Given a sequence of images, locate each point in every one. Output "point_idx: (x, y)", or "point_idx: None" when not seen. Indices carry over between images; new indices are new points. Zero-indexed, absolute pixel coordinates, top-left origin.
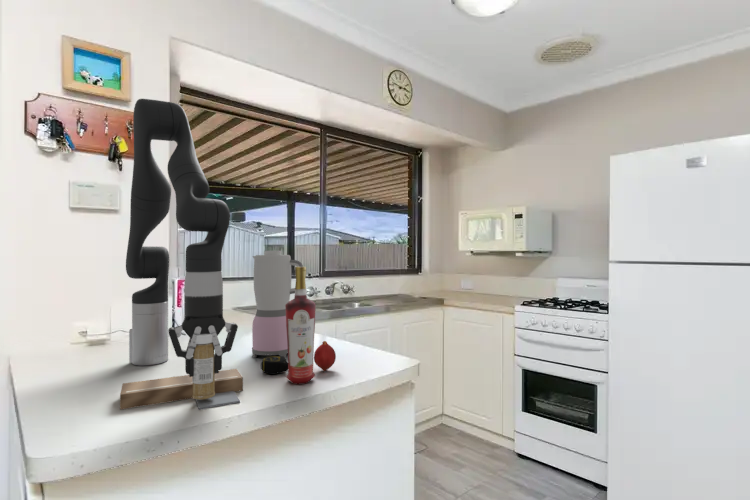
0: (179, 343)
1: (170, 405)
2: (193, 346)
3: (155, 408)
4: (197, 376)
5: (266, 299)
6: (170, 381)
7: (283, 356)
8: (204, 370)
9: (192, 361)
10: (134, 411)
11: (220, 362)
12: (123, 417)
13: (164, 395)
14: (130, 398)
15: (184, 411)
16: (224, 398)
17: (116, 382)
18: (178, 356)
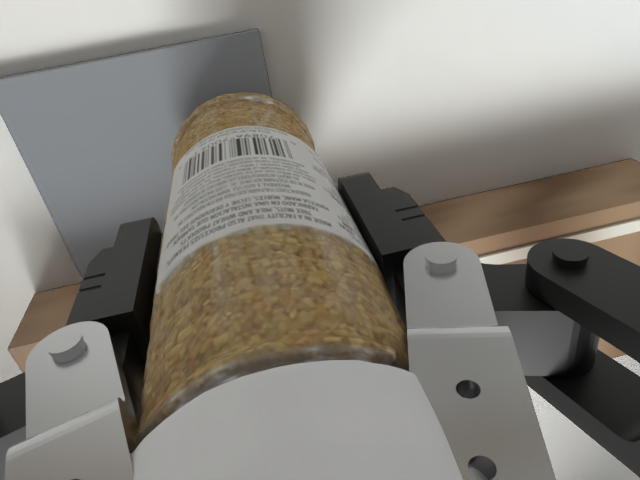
0: (621, 435)
1: (418, 152)
2: (444, 331)
3: (488, 127)
4: (301, 157)
5: None
6: None
7: None
8: (242, 170)
9: (381, 239)
10: (580, 113)
11: (91, 291)
12: (634, 36)
13: (462, 218)
14: (623, 188)
15: (341, 22)
16: (113, 154)
17: (598, 454)
18: (562, 241)
